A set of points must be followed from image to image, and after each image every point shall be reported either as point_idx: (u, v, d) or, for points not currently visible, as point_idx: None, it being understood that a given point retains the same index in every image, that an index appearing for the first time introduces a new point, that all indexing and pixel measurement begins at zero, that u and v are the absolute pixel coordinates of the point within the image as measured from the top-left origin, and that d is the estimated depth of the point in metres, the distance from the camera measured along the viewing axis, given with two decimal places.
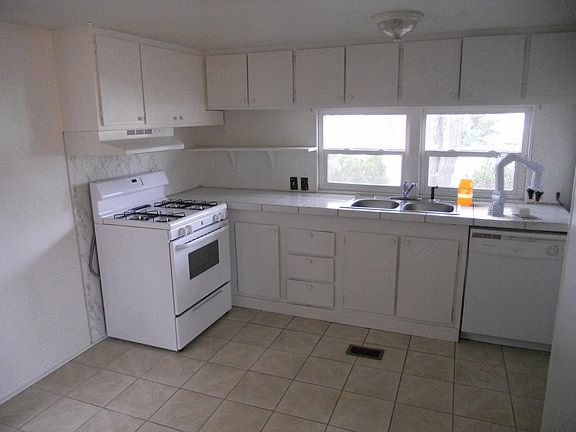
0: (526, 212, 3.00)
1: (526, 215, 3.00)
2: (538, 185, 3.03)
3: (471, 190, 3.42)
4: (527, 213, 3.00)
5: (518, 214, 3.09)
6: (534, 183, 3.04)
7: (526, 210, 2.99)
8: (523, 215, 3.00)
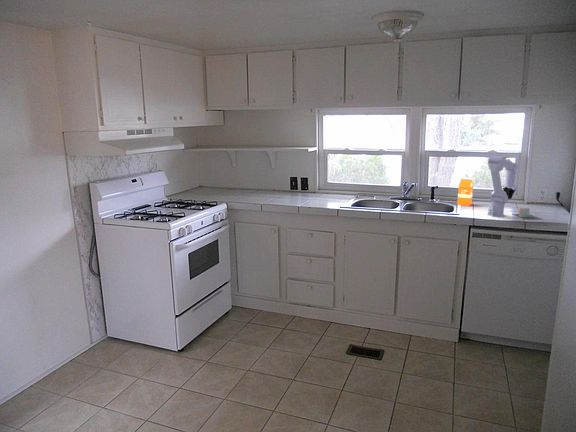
0: (526, 212, 3.00)
1: (526, 215, 3.00)
2: (512, 183, 3.10)
3: (471, 190, 3.42)
4: (527, 213, 3.00)
5: (518, 214, 3.09)
6: (508, 181, 3.11)
7: (526, 210, 2.99)
8: (523, 215, 3.00)
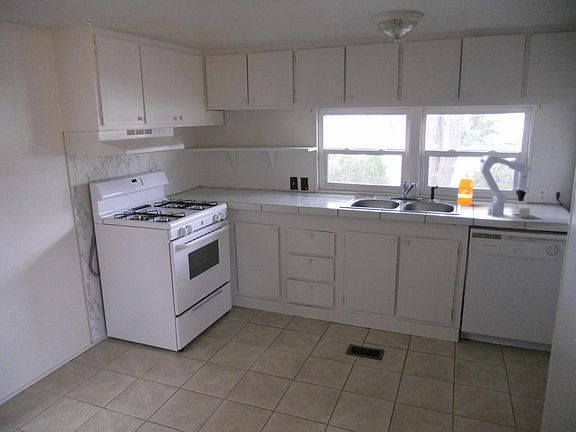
0: (526, 212, 3.00)
1: (526, 215, 3.00)
2: (524, 185, 3.00)
3: (471, 190, 3.42)
4: (527, 213, 3.00)
5: (518, 214, 3.09)
6: (520, 184, 3.00)
7: (526, 210, 2.99)
8: (523, 215, 3.00)
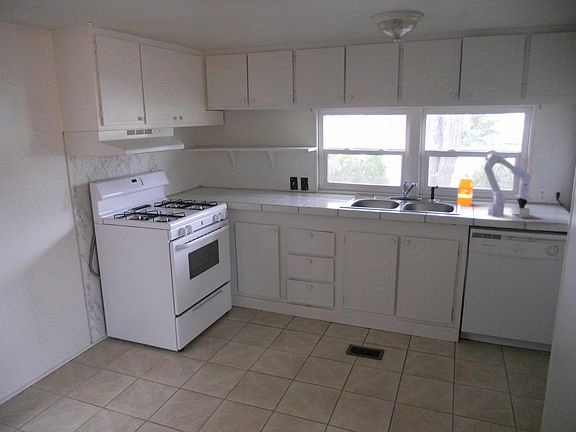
0: (526, 212, 3.00)
1: (526, 215, 3.00)
2: (526, 194, 2.98)
3: (471, 190, 3.42)
4: (527, 213, 3.00)
5: (518, 214, 3.09)
6: (522, 192, 2.99)
7: (526, 210, 2.99)
8: (523, 215, 3.00)
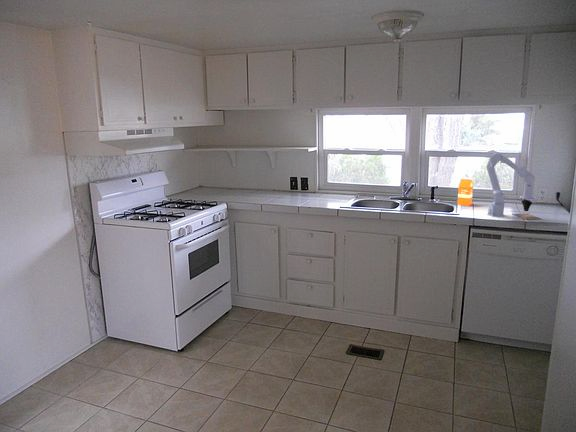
0: None
1: None
2: (530, 195, 2.94)
3: (471, 190, 3.42)
4: None
5: (518, 214, 3.09)
6: (526, 193, 2.94)
7: None
8: None
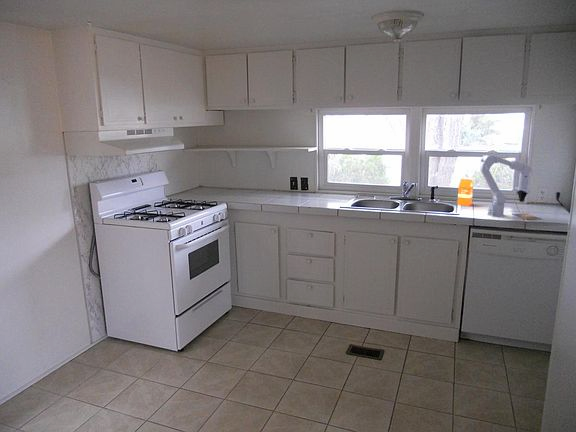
0: None
1: None
2: (525, 186, 2.99)
3: (471, 190, 3.42)
4: None
5: (518, 214, 3.09)
6: (521, 184, 2.99)
7: None
8: None
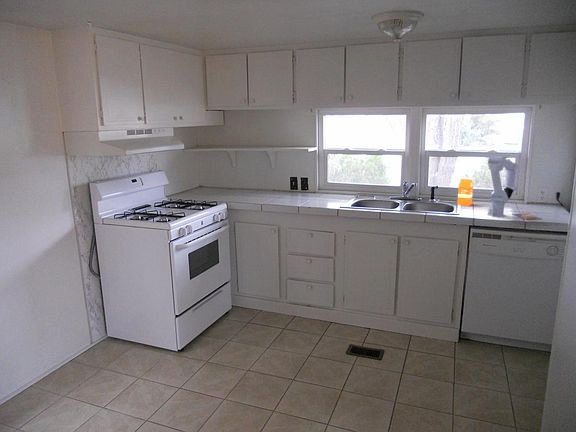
0: None
1: None
2: (512, 183, 3.10)
3: (471, 190, 3.42)
4: None
5: (518, 214, 3.09)
6: (508, 181, 3.11)
7: None
8: None
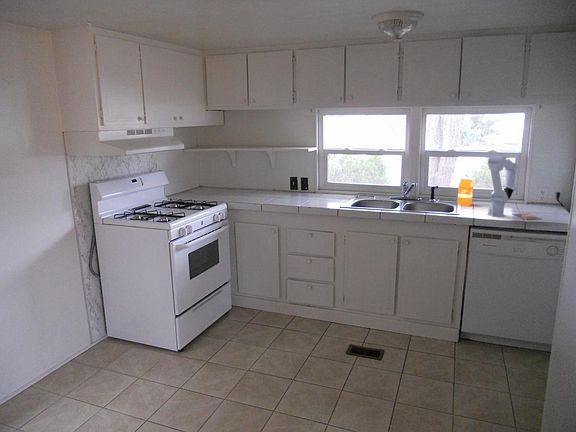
0: None
1: None
2: (512, 183, 3.10)
3: (471, 190, 3.42)
4: None
5: (518, 214, 3.09)
6: (508, 181, 3.11)
7: None
8: None
